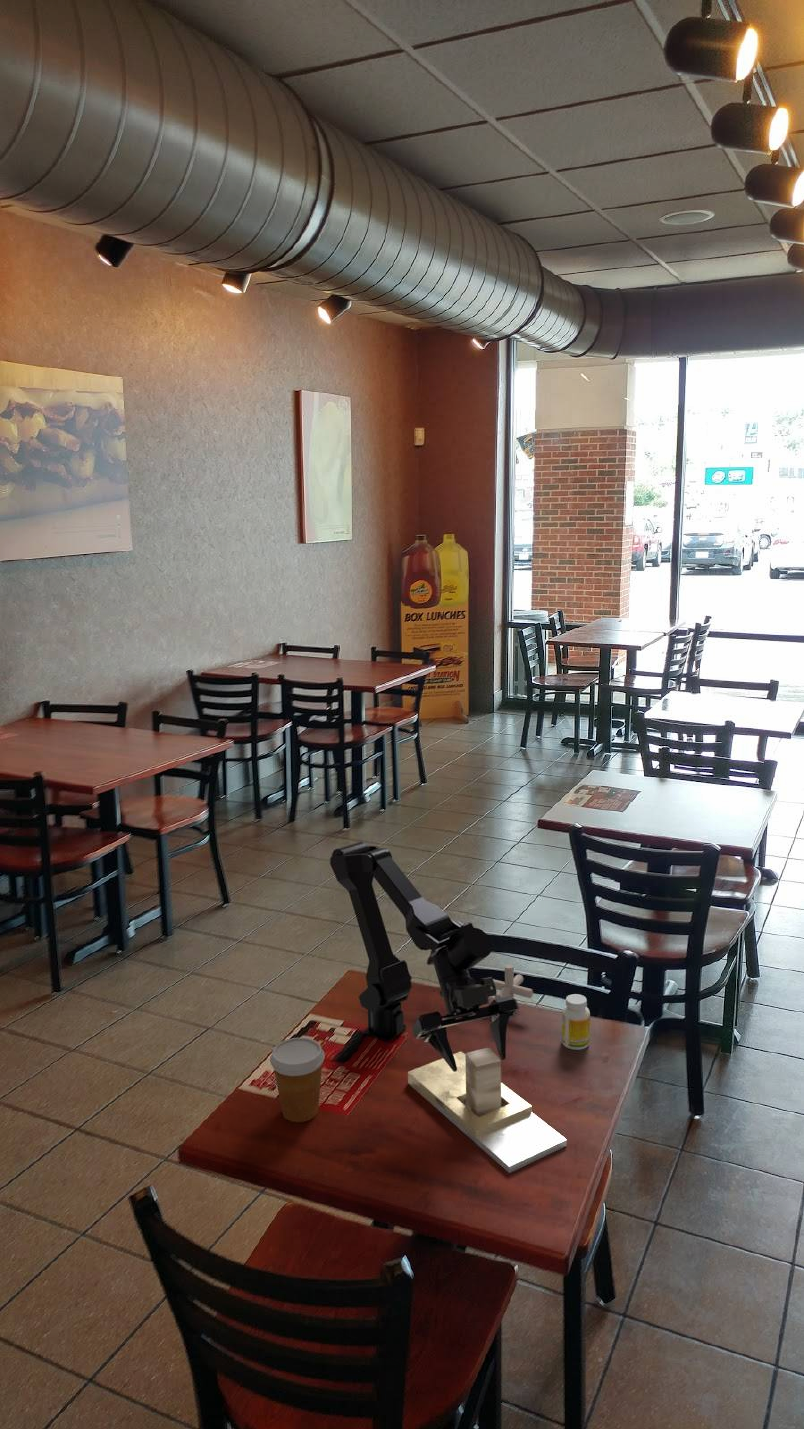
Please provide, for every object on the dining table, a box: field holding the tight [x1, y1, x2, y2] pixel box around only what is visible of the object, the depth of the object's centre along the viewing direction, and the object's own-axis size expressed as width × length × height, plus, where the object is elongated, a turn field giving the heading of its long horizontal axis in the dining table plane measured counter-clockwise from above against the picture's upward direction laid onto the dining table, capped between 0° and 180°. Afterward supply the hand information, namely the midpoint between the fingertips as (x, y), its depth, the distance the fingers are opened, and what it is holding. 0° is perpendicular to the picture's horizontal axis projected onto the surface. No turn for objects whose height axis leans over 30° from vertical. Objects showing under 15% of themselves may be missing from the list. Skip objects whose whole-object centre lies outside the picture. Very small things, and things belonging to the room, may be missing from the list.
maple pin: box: [464, 1047, 502, 1117], centre depth 172 cm, size 5×5×11 cm
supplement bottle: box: [561, 993, 591, 1051], centre depth 194 cm, size 5×5×10 cm
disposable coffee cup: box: [269, 1037, 326, 1123], centre depth 174 cm, size 10×10×12 cm
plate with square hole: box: [407, 1051, 568, 1174], centre depth 173 cm, size 30×12×2 cm, turn 32°
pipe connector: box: [493, 963, 534, 999], centre depth 207 cm, size 10×10×10 cm
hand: (479, 1065), depth 173 cm, fingers open, 9 cm apart
